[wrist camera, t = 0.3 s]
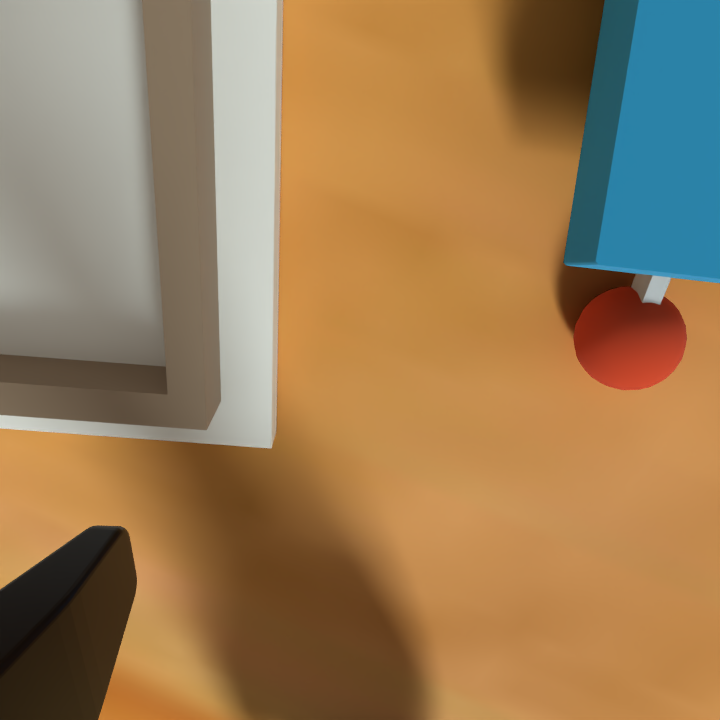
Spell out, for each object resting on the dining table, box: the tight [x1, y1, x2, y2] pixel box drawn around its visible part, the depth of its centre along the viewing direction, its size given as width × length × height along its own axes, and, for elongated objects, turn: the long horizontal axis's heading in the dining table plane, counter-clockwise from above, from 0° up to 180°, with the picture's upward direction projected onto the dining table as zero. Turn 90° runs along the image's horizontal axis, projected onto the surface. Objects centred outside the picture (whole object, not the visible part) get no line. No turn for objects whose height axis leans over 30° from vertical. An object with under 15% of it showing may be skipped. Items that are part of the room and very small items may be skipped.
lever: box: [563, 0, 720, 390], centre depth 18 cm, size 7×7×18 cm
